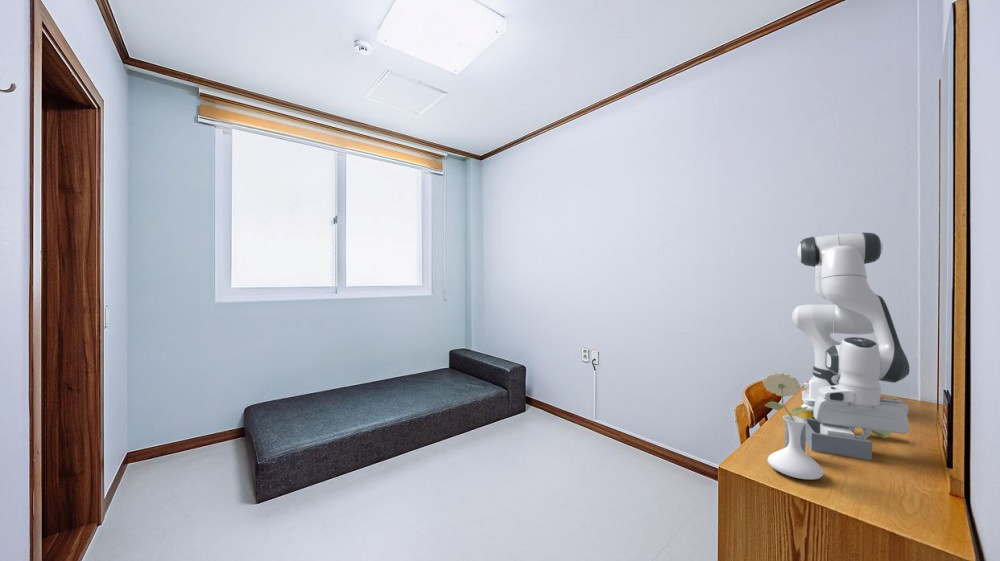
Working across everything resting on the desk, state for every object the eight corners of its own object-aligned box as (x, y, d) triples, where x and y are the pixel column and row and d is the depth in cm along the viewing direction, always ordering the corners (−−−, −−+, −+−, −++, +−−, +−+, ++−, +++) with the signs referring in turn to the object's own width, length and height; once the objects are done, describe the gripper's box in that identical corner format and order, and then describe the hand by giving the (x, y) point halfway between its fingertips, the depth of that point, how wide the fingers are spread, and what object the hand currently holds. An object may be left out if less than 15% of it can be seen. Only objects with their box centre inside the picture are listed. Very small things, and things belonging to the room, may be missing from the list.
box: (799, 432, 123) (799, 417, 122) (852, 440, 117) (852, 424, 117) (811, 450, 110) (811, 433, 110) (871, 460, 104) (871, 442, 104)
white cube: (845, 446, 113) (845, 426, 113) (854, 455, 107) (854, 434, 107) (820, 442, 115) (820, 423, 115) (827, 451, 110) (827, 430, 110)
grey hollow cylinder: (786, 450, 110) (786, 414, 110) (806, 455, 107) (806, 419, 107) (783, 455, 107) (783, 419, 107) (803, 461, 104) (804, 423, 104)
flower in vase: (830, 475, 96) (831, 376, 96) (814, 489, 90) (815, 384, 90) (770, 455, 107) (771, 366, 107) (752, 467, 100) (753, 372, 100)
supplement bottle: (811, 424, 129) (810, 396, 129) (827, 430, 124) (826, 400, 124) (797, 425, 128) (796, 397, 128) (812, 432, 123) (811, 402, 123)
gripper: (902, 396, 109) (902, 445, 109) (812, 387, 118) (811, 431, 118) (914, 403, 103) (913, 454, 103) (818, 393, 112) (817, 439, 112)
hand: (858, 442), depth 111 cm, fingers closed
